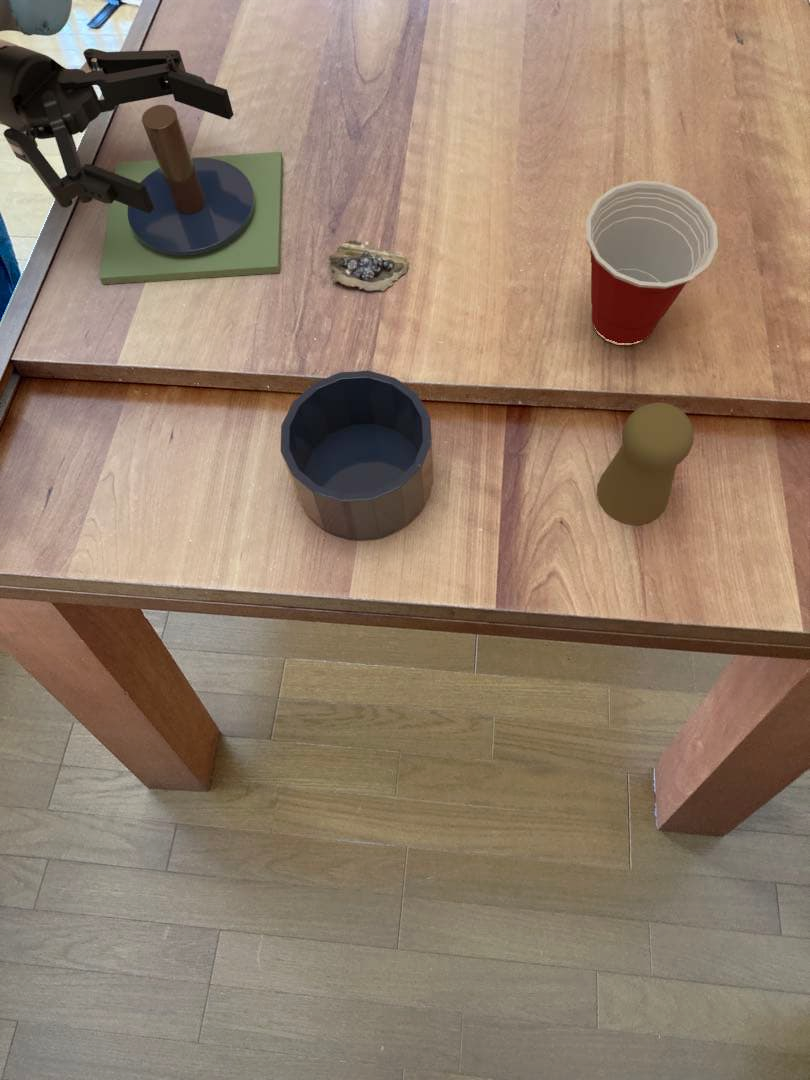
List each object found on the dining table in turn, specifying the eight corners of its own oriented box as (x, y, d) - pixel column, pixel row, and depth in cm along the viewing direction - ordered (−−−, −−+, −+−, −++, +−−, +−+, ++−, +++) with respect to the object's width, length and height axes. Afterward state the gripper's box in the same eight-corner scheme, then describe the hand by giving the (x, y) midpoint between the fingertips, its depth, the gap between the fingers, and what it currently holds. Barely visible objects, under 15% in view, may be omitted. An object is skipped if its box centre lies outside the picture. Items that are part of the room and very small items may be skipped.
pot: (295, 544, 70) (279, 504, 63) (297, 424, 75) (282, 375, 68) (436, 536, 69) (435, 495, 62) (428, 416, 74) (426, 366, 67)
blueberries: (326, 246, 83) (324, 232, 82) (404, 237, 83) (403, 222, 82) (332, 298, 80) (329, 285, 79) (413, 288, 80) (412, 274, 79)
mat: (102, 284, 83) (98, 277, 82) (118, 170, 89) (115, 162, 88) (279, 273, 82) (277, 266, 81) (283, 159, 89) (281, 151, 88)
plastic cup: (609, 389, 75) (637, 300, 64) (544, 308, 79) (559, 212, 68) (706, 339, 76) (749, 244, 65) (637, 263, 80) (667, 161, 70)
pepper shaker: (649, 454, 72) (682, 380, 62) (680, 512, 69) (719, 445, 59) (585, 474, 71) (608, 403, 61) (614, 534, 69) (642, 469, 59)
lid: (164, 280, 81) (123, 189, 71) (111, 200, 86) (66, 105, 76) (278, 223, 84) (254, 128, 73) (220, 149, 88) (191, 50, 78)
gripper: (102, 47, 89) (267, 102, 84) (-49, 200, 80) (125, 272, 76) (73, -25, 82) (251, 31, 77) (-95, 135, 74) (93, 209, 69)
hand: (189, 150), depth 76 cm, fingers open, 13 cm apart
